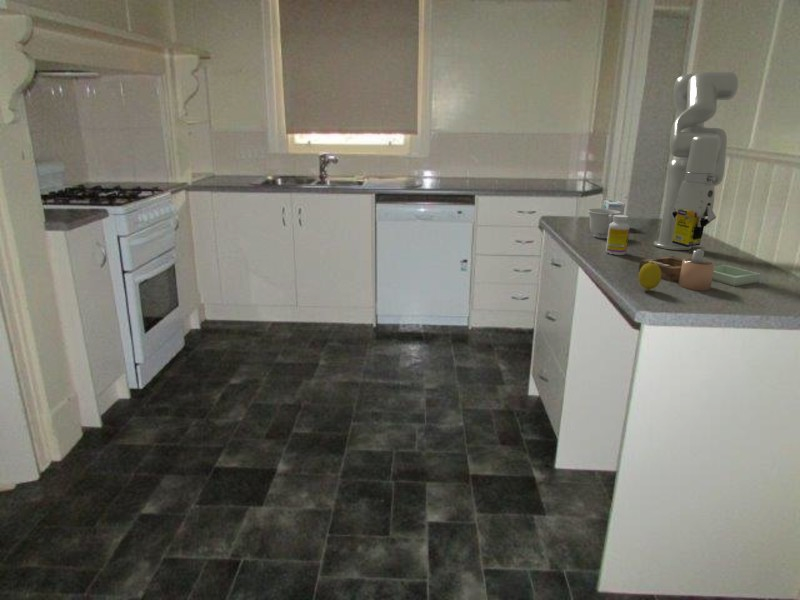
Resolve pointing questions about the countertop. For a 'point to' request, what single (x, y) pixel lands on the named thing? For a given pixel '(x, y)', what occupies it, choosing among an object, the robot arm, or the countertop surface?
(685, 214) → the supplement box
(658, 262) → the wooden cubby shelf
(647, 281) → the lemon
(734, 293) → the countertop surface
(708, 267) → the tan dispenser bottle
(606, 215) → the teacup
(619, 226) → the supplement bottle
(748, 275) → the pale green square tray
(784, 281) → the countertop surface
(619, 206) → the light bulb box
